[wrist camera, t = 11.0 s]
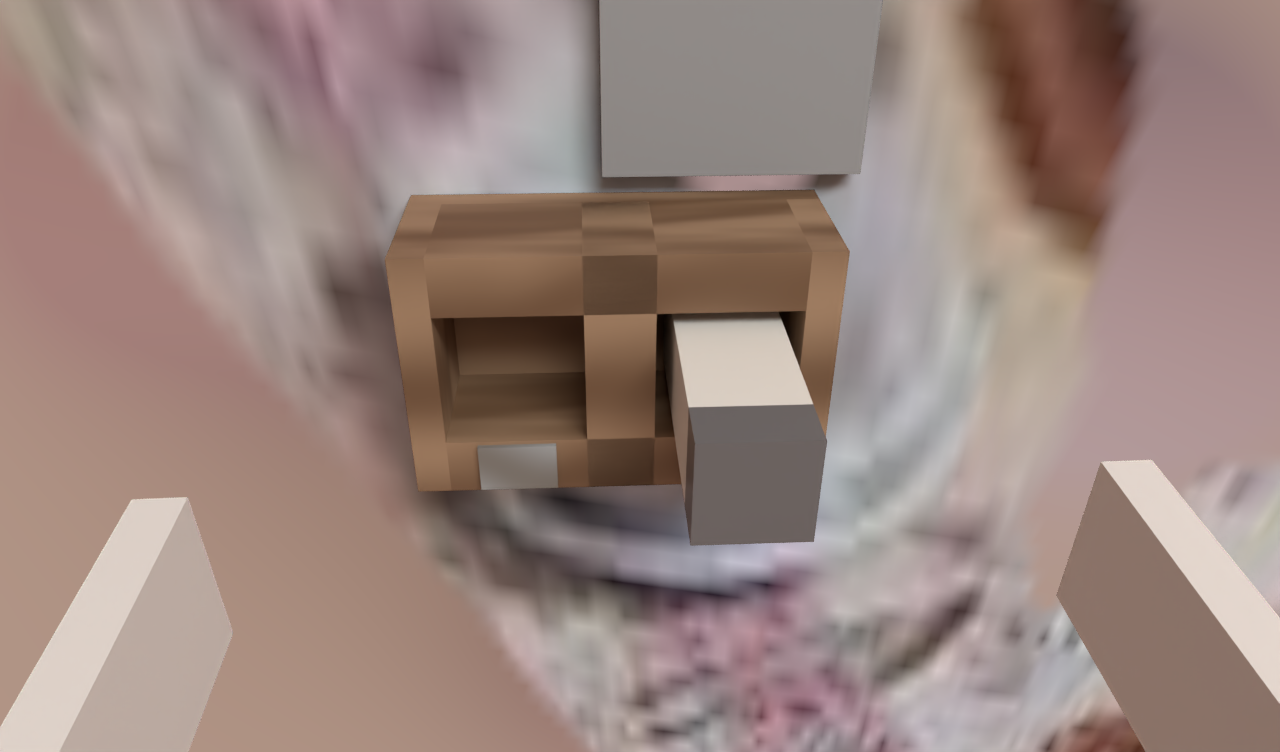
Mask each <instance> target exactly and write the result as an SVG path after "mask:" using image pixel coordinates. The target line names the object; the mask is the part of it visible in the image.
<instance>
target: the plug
mask: <svg viewBox="0 0 1280 752" xmlns="http://www.w3.org/2000/svg"><path fill="white" fill-rule="evenodd" d="M663 360H664V366H665V373H666V380H667V387H668V394H669V401H670V408H671V415H672V421H673V428H674V435H675V442H676V449H677V456H678V463H679V470H680V476H681V483H682V490H683V497H684V504H685V511H686V518H687V524H688V531H689V538H690V545H722V544H754V543H786V542H814V536H815V528H816V521H817V513H818V505H819V498H820V490H821V483H822V475H823V467H824V460H825V452H826V445H827V439H826V437H825V434H824V431H823V429H822V426H821V423H820V421H819V418H818V415H817V413H816V410H815V407H814V405H813V402H812V399H811V397H810V394H809V391H808V389H807V386H806V383H805V381H804V378H803V375H802V373H801V370H800V367H799V365H798V362H797V359H796V357H795V354H794V352H793V349H792V346H791V344H790V341H789V338H788V336H787V333H786V330H785V328H784V325H783V322H782V320H781V317H780V314H779V312H728V313H677V314H664V337H663Z"/></svg>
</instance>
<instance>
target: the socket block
mask: <svg viewBox="0 0 1280 752" xmlns="http://www.w3.org/2000/svg"><path fill="white" fill-rule="evenodd" d="M849 253H850V251H849V250H848V248H847V246H846V244H845V243H844V241H843V239H842V237H841V236H840V234H839V232H838V230H837V229H836V227H835V225H834V224H833V222H832V220H831V218H830V217H829V215H828V213H827V211H826V210H825V208H824V206H823V204H822V203H821V201H820V199H819V198H818V196H817V194H816V192H815V191H814V190H761V191H688V192H614V193H540V194H467V195H411V197H410V199H409V202H408V204H407V206H406V209H405V211H404V214H403V216H402V219H401V221H400V224H399V226H398V228H397V231H396V233H395V236H394V238H393V241H392V243H391V246H390V248H389V250H388V253H387V255H386V258H385V264H386V271H387V278H388V285H389V292H390V299H391V305H392V312H393V319H394V326H395V333H396V340H397V347H398V354H399V361H400V368H401V375H402V381H403V388H404V395H405V402H406V409H407V416H408V423H409V430H410V437H411V444H412V451H413V457H414V464H415V471H416V478H417V485H418V492H419V491H454V490H494V489H529V488H560V487H595V486H630V485H666V484H682V483H681V476H680V470H679V463H678V456H677V449H676V442H675V435H674V428H673V421H672V415H671V408H670V401H669V394H668V387H667V380H666V373H665V366H664V360H663V337H664V314H677V313H728V312H779V314H780V317H781V320H782V322H783V325H784V328H785V330H786V333H787V336H788V338H789V341H790V344H791V346H792V349H793V352H794V354H795V357H796V359H797V362H798V365H799V367H800V370H801V373H802V375H803V378H804V381H805V383H806V386H807V389H808V391H809V394H810V397H811V399H812V402H813V405H814V407H815V410H816V413H817V415H818V418H819V421H820V423H821V426H822V429H823V431H824V434H825V437H826V430H827V422H828V414H829V407H830V399H831V391H832V384H833V376H834V368H835V360H836V353H837V345H838V337H839V330H840V322H841V314H842V307H843V299H844V291H845V284H846V276H847V268H848V261H849Z"/></svg>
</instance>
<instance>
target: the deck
mask: <svg viewBox="0 0 1280 752" xmlns="http://www.w3.org/2000/svg"><path fill="white" fill-rule="evenodd" d="M882 4H883V0H599V31H600V96H601V161H602V177H659V176H737V175H815V174H860V172H861V165H862V157H863V149H864V142H865V134H866V126H867V119H868V111H869V103H870V96H871V88H872V80H873V73H874V65H875V57H876V50H877V42H878V34H879V27H880V19H881V11H882Z"/></svg>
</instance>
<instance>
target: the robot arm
mask: <svg viewBox="0 0 1280 752" xmlns="http://www.w3.org/2000/svg"><path fill="white" fill-rule="evenodd" d="M1056 596H1057V597H1058V599H1059V601H1060V603H1061V604H1062V606H1063V608H1064V610H1065V611H1066V613H1067V615H1068V617H1069V618H1070V620H1071V622H1072V624H1073V625H1074V627H1075V629H1076V631H1077V632H1078V634H1079V636H1080V638H1081V639H1082V641H1083V643H1084V645H1085V646H1086V648H1087V650H1088V652H1089V653H1090V655H1091V657H1092V659H1093V660H1094V662H1095V664H1096V666H1097V667H1098V669H1099V671H1100V673H1101V674H1102V676H1103V678H1104V680H1105V681H1106V683H1107V685H1108V687H1109V688H1110V690H1111V692H1112V694H1113V695H1114V697H1115V699H1116V701H1117V702H1118V704H1119V706H1120V708H1121V709H1122V711H1123V713H1124V715H1125V716H1126V718H1127V720H1128V722H1129V723H1130V725H1131V727H1132V729H1133V730H1134V732H1135V734H1136V736H1137V737H1138V739H1139V741H1140V743H1141V744H1142V746H1143V748H1144V750H1145V751H1146V752H1280V618H1279V616H1278V615H1277V614H1276V613H1275V611H1274V610H1273V609H1272V608H1271V606H1270V605H1269V604H1268V603H1267V602H1266V600H1265V599H1264V598H1263V597H1262V595H1261V594H1260V593H1259V592H1258V590H1257V589H1256V588H1255V587H1254V586H1253V584H1252V583H1251V582H1250V581H1249V579H1248V578H1247V577H1246V576H1245V574H1244V573H1243V572H1242V571H1241V570H1240V568H1239V567H1238V566H1237V565H1236V563H1235V562H1234V561H1233V560H1232V558H1231V557H1230V556H1229V555H1228V553H1227V552H1226V551H1225V550H1224V549H1223V547H1222V546H1221V545H1220V544H1219V542H1218V541H1217V540H1216V539H1215V537H1214V536H1213V535H1212V534H1211V533H1210V531H1209V530H1208V529H1207V528H1206V526H1205V525H1204V524H1203V523H1202V521H1201V520H1200V519H1199V518H1198V517H1197V515H1196V514H1195V513H1194V512H1193V510H1192V509H1191V508H1190V507H1189V505H1188V504H1187V503H1186V502H1185V500H1184V499H1183V498H1182V497H1181V496H1180V494H1179V493H1178V492H1177V491H1176V489H1175V488H1174V487H1173V486H1172V484H1171V483H1170V482H1169V481H1168V480H1167V478H1166V477H1165V476H1164V475H1163V473H1162V472H1161V471H1160V470H1159V468H1158V467H1157V466H1156V465H1155V464H1154V462H1153V461H1152V460H1138V461H1137V460H1136V461H1110V462H1101V463H1100V466H1099V469H1098V472H1097V475H1096V479H1095V481H1094V484H1093V487H1092V491H1091V494H1090V496H1089V499H1088V502H1087V505H1086V508H1085V511H1084V514H1083V517H1082V520H1081V523H1080V526H1079V529H1078V532H1077V535H1076V538H1075V541H1074V544H1073V547H1072V550H1071V553H1070V556H1069V559H1068V562H1067V565H1066V568H1065V571H1064V574H1063V577H1062V580H1061V583H1060V586H1059V589H1058V592H1057V595H1056ZM232 635H233V631H232V628H231V625H230V622H229V619H228V616H227V613H226V610H225V607H224V604H223V601H222V598H221V595H220V592H219V589H218V586H217V583H216V580H215V577H214V574H213V571H212V568H211V565H210V562H209V559H208V556H207V553H206V550H205V547H204V544H203V541H202V538H201V535H200V532H199V529H198V526H197V524H196V520H195V517H194V514H193V511H192V508H191V506H190V502H189V499H188V497H181V498H155V499H132V500H131V502H130V503H129V505H128V507H127V508H126V510H125V512H124V514H123V516H122V517H121V519H120V521H119V522H118V524H117V526H116V528H115V529H114V531H113V533H112V534H111V536H110V538H109V540H108V541H107V543H106V545H105V546H104V548H103V550H102V552H101V553H100V555H99V557H98V559H97V560H96V562H95V564H94V566H93V567H92V569H91V571H90V572H89V574H88V576H87V578H86V579H85V581H84V583H83V585H82V586H81V588H80V590H79V591H78V593H77V595H76V597H75V599H74V600H73V602H72V604H71V605H70V607H69V609H68V611H67V612H66V614H65V616H64V618H63V619H62V621H61V623H60V624H59V626H58V628H57V630H56V631H55V633H54V635H53V637H52V638H51V640H50V642H49V643H48V645H47V647H46V649H45V650H44V652H43V654H42V656H41V657H40V659H39V661H38V662H37V664H36V666H35V668H34V669H33V671H32V673H31V675H30V676H29V678H28V680H27V682H26V683H25V685H24V687H23V688H22V690H21V692H20V694H19V696H18V697H17V699H16V701H15V702H14V704H13V706H12V708H11V709H10V711H9V713H8V714H7V716H6V718H5V720H4V721H3V723H2V725H1V727H0V752H189V749H190V747H191V744H192V741H193V739H194V736H195V733H196V731H197V728H198V725H199V723H200V720H201V717H202V715H203V712H204V709H205V707H206V704H207V702H208V699H209V696H210V693H211V691H212V688H213V685H214V683H215V680H216V678H217V675H218V672H219V670H220V667H221V664H222V662H223V659H224V656H225V654H226V651H227V648H228V646H229V643H230V640H231V638H232Z"/></svg>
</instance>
